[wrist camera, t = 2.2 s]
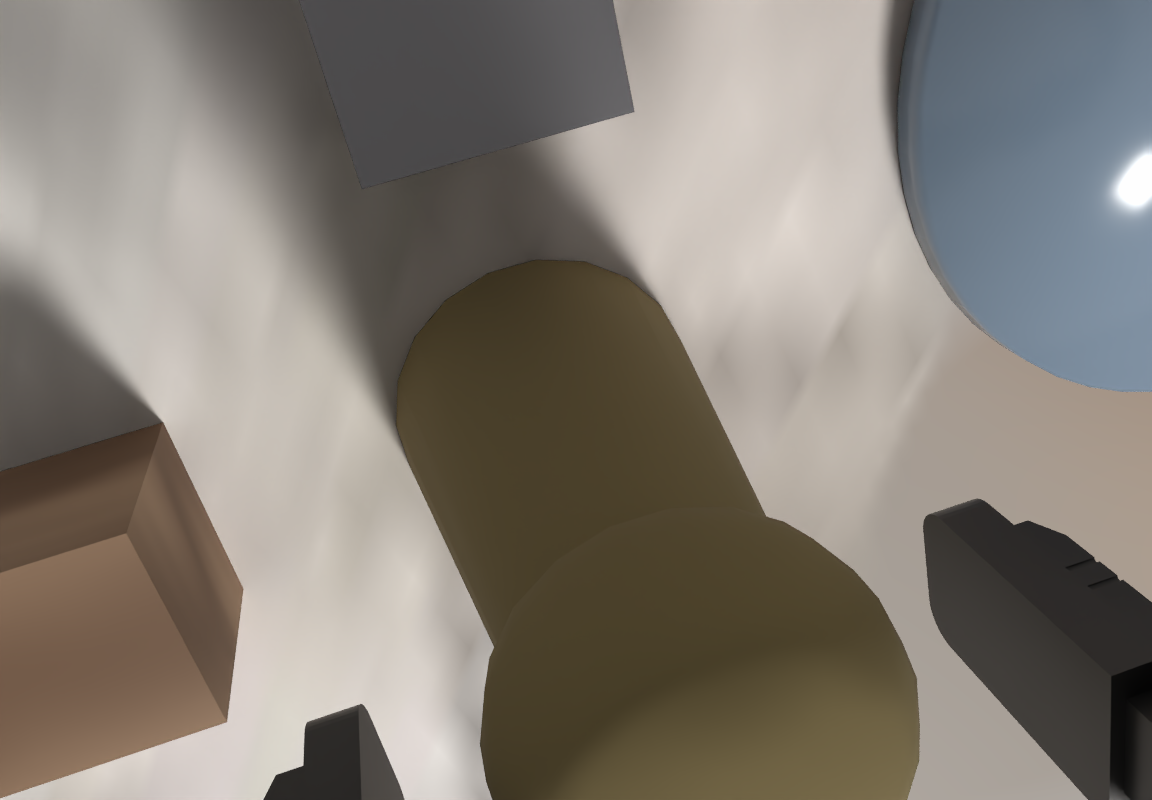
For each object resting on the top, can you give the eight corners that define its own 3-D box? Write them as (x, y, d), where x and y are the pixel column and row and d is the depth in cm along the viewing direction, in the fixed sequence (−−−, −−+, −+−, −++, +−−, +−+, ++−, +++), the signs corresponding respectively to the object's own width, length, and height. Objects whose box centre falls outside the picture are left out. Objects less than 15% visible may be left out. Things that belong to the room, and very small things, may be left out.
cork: (722, 458, 22) (1047, 882, 12) (469, 575, 21) (588, 1103, 12) (634, 207, 19) (962, 494, 9) (340, 339, 19) (357, 776, 9)
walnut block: (-53, 486, 18) (-144, 617, 15) (163, 420, 19) (126, 533, 15) (48, 649, 20) (-11, 801, 17) (243, 586, 20) (226, 721, 17)
